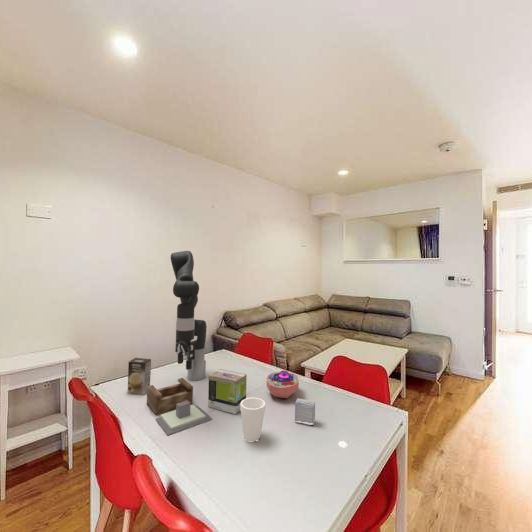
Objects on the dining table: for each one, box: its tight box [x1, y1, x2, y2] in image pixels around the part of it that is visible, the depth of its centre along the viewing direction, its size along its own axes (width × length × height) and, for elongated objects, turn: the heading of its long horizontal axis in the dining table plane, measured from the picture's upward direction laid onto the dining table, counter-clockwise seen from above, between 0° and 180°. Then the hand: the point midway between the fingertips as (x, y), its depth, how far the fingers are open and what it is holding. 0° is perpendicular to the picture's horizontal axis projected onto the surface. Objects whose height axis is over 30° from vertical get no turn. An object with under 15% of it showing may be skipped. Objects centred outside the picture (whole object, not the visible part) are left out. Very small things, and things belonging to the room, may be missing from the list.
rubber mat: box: [154, 405, 213, 437], centre depth 118 cm, size 19×14×1 cm
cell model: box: [265, 369, 300, 399], centre depth 143 cm, size 17×20×11 cm
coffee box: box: [127, 357, 152, 396], centre depth 143 cm, size 9×6×16 cm
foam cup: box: [240, 397, 266, 442], centre depth 107 cm, size 10×9×13 cm
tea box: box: [207, 369, 247, 415], centre depth 130 cm, size 15×10×15 cm, turn 65°
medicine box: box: [294, 398, 316, 424], centre depth 119 cm, size 8×4×9 cm, turn 71°
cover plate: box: [159, 400, 206, 430], centre depth 119 cm, size 15×12×6 cm
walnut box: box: [146, 377, 194, 417], centre depth 130 cm, size 17×12×8 cm
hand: (184, 366), depth 119 cm, fingers open, 8 cm apart
